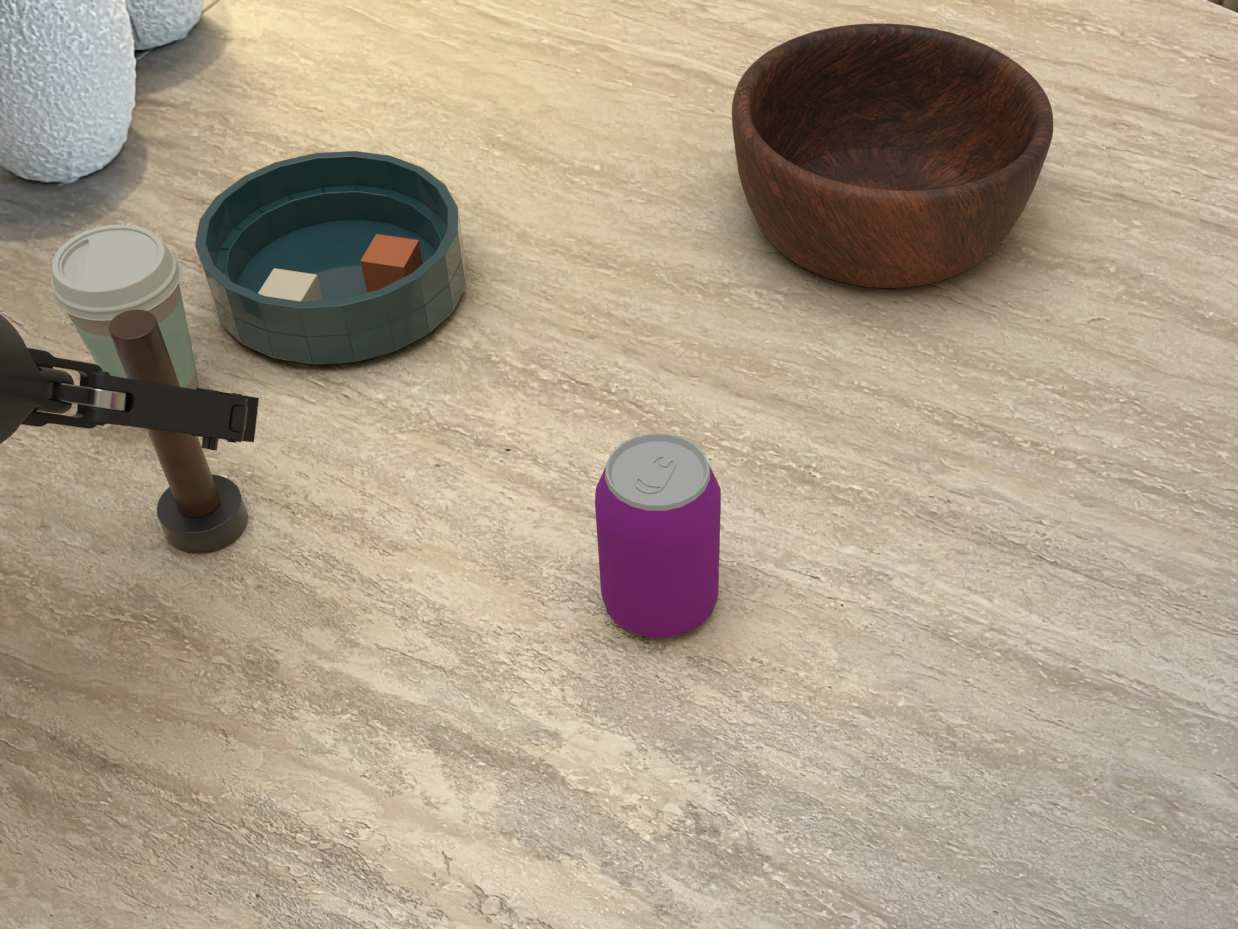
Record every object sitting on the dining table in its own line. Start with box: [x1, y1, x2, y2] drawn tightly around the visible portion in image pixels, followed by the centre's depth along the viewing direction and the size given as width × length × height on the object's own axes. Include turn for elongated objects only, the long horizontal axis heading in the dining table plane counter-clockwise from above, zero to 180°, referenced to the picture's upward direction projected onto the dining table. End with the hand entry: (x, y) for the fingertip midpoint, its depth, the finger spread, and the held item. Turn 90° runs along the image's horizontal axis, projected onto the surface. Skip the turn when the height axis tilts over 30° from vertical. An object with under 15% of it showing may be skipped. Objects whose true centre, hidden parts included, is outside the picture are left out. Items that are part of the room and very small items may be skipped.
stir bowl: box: [194, 150, 467, 365], centre depth 113 cm, size 20×20×6 cm
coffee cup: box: [50, 224, 200, 389], centre depth 103 cm, size 9×8×12 cm
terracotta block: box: [361, 234, 423, 293], centre depth 113 cm, size 4×4×4 cm
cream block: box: [258, 268, 323, 301], centre depth 111 cm, size 4×4×4 cm
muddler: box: [108, 309, 249, 554], centre depth 93 cm, size 6×6×17 cm
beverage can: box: [594, 432, 722, 639], centre depth 91 cm, size 8×8×12 cm
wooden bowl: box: [731, 22, 1054, 289], centre depth 118 cm, size 25×25×10 cm
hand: (147, 402), depth 90 cm, fingers open, 13 cm apart
